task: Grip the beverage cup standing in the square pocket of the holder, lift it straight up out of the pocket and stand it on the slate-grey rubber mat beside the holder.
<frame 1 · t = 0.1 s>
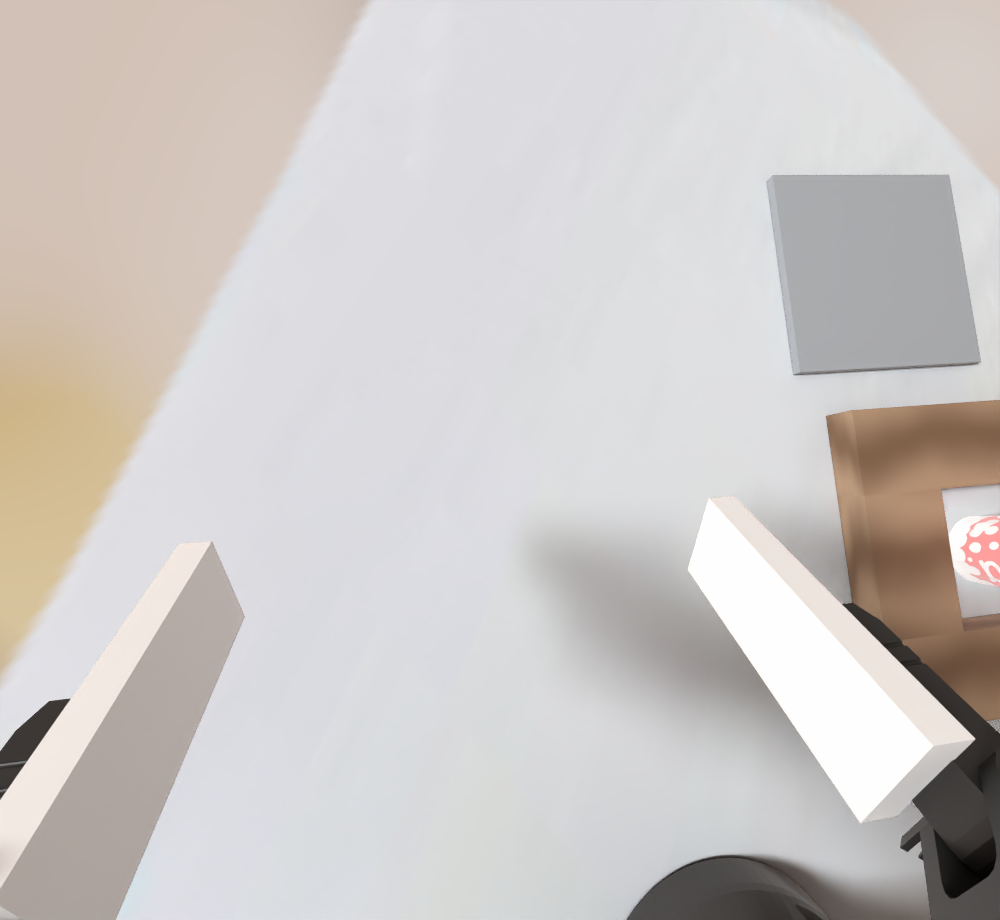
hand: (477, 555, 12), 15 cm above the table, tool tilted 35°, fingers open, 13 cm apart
pocket holder: (977, 549, 31), on the table
rubber mat: (869, 273, 32), on the table
beverage cup: (973, 548, 31), resting in pocket holder
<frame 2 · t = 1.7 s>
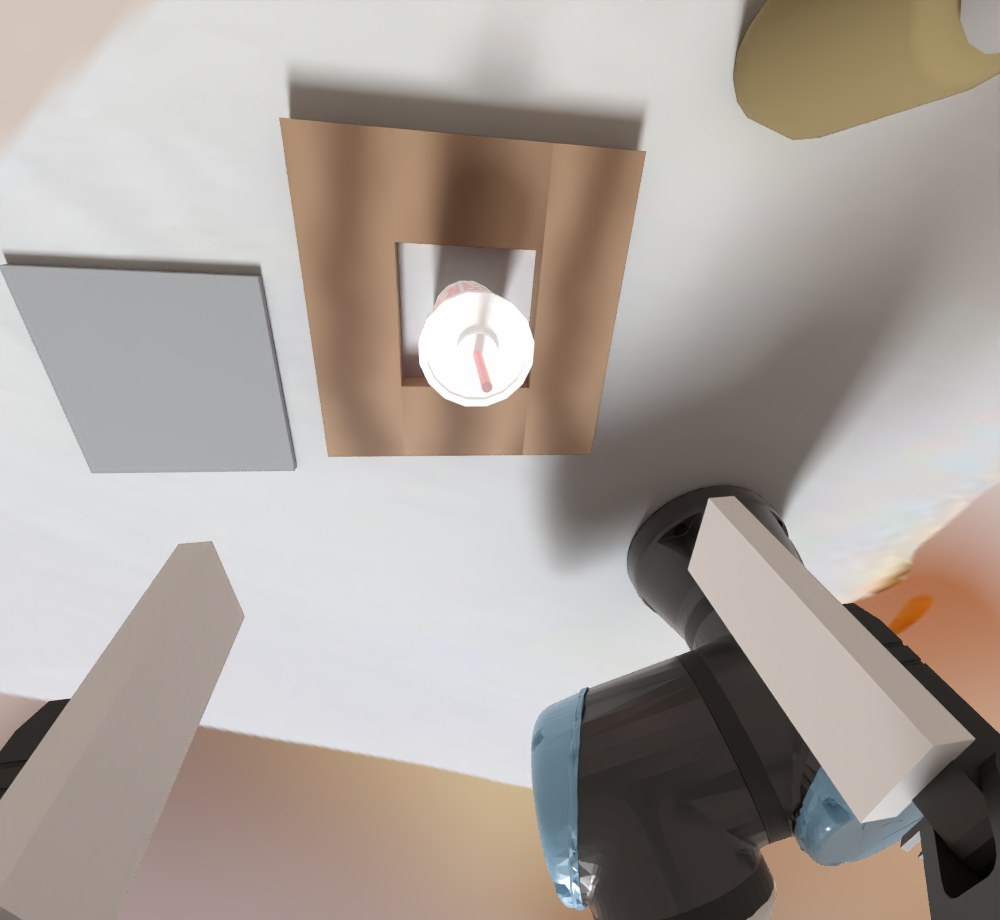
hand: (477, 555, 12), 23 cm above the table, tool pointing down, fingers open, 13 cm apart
squeeze bottle: (777, 64, 27), on the table
pocket holder: (466, 315, 31), on the table
rubber mat: (172, 380, 31), on the table
beverage cup: (466, 314, 31), resting in pocket holder
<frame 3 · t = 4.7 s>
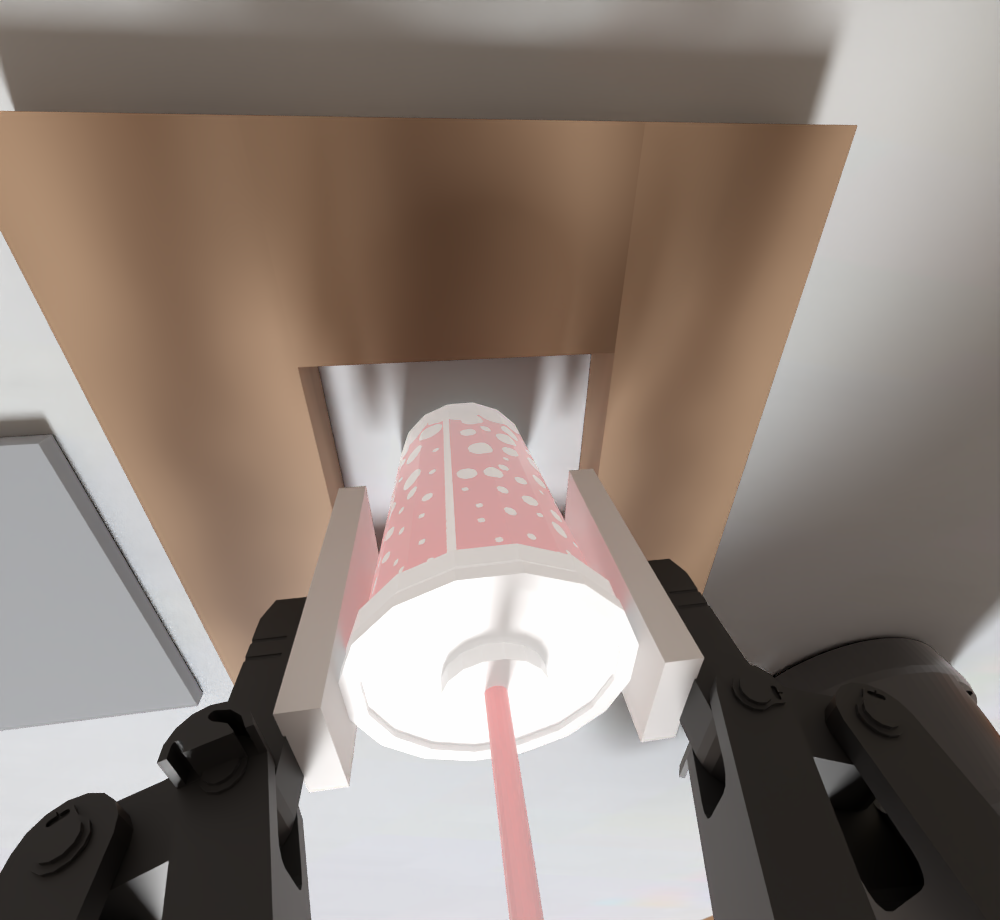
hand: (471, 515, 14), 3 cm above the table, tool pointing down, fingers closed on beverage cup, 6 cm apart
pocket holder: (464, 459, 17), on the table
beverage cup: (463, 456, 17), resting in pocket holder, touching gripper
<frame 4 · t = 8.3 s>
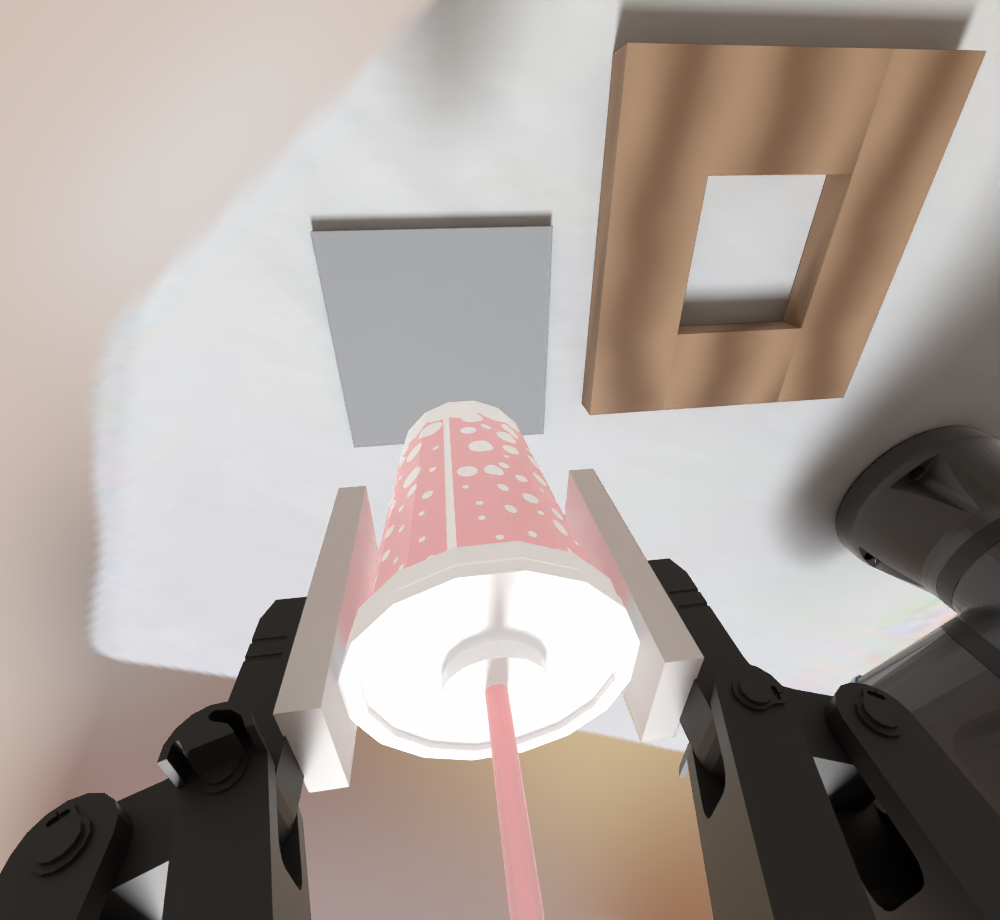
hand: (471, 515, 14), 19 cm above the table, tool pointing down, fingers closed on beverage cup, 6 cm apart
pocket holder: (740, 255, 30), on the table
rubber mat: (443, 344, 30), on the table
beverage cup: (464, 454, 17), point 16 cm above the table, touching gripper
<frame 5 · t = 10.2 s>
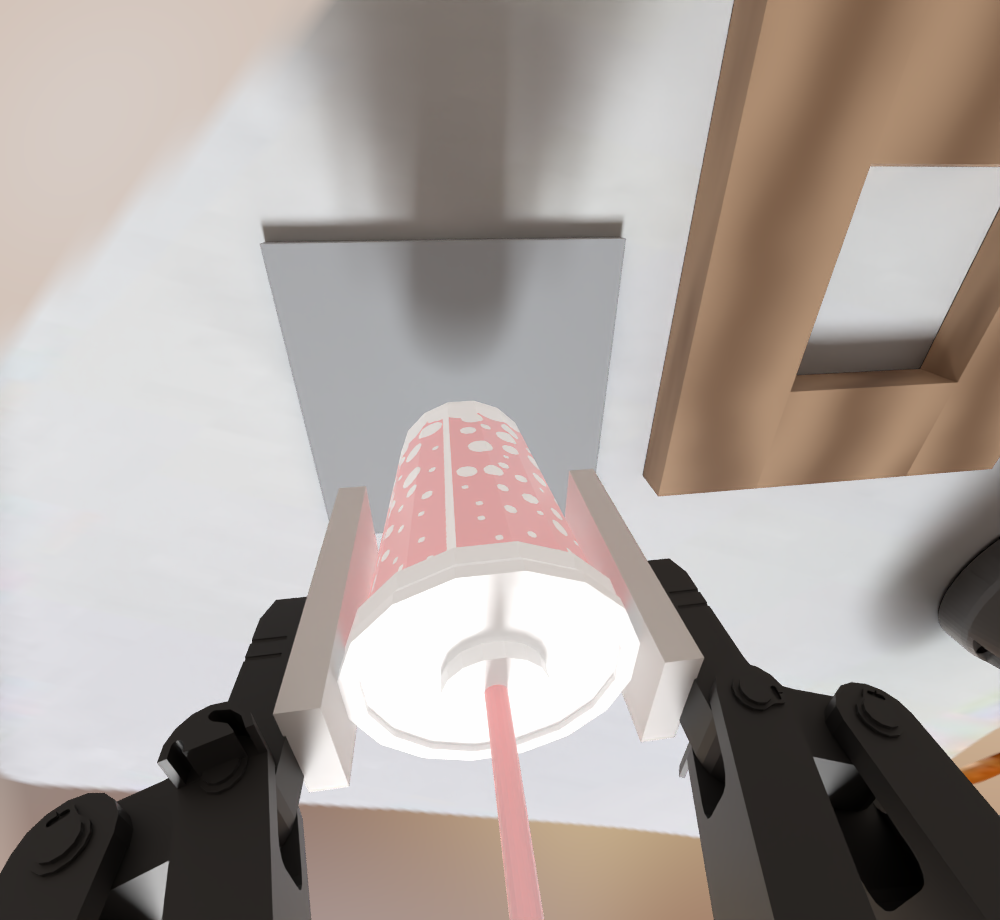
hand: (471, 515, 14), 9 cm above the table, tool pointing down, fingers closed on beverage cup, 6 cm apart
pocket holder: (881, 280, 21), on the table
rubber mat: (459, 402, 21), on the table
beverage cup: (463, 454, 17), point 5 cm above the table, touching gripper
when the fingers open (5 cm above the table, at t = 11.7 s): beverage cup drops 1 cm, resting on rubber mat.
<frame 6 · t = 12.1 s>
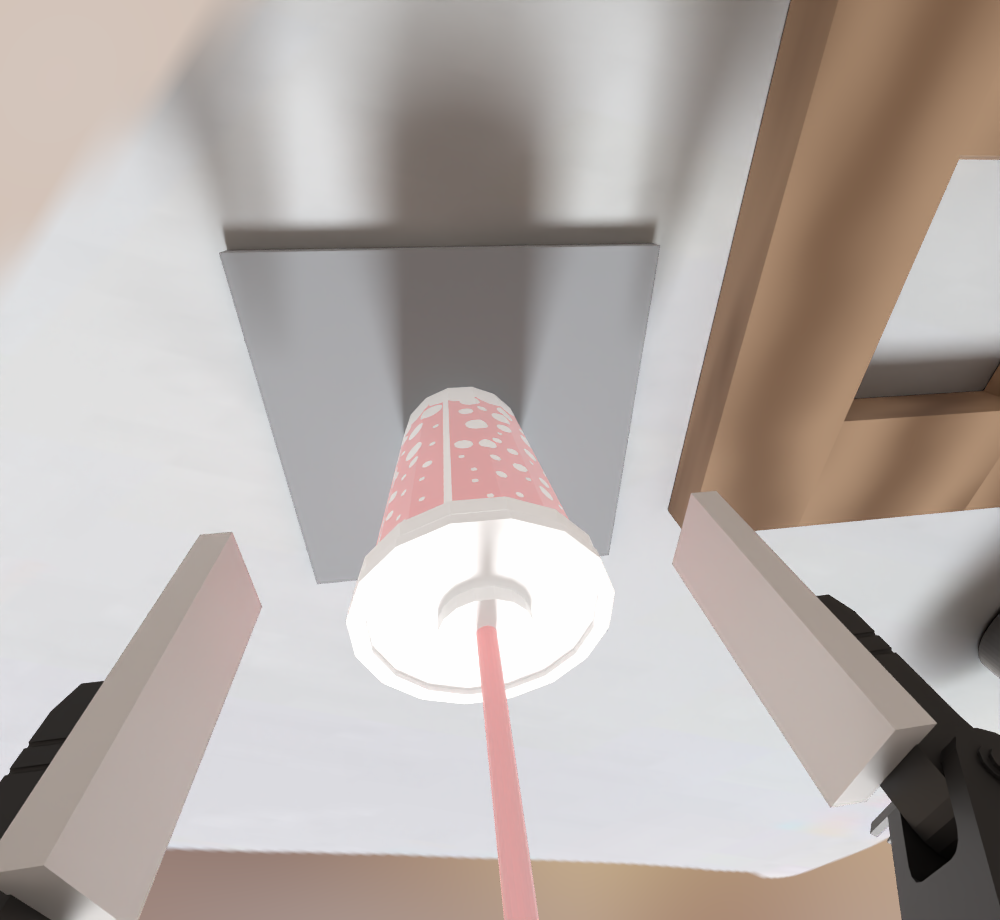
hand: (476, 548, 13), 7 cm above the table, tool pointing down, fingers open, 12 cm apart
pocket holder: (949, 293, 18), on the table
rubber mat: (460, 434, 19), on the table
beverage cup: (462, 438, 18), resting on rubber mat
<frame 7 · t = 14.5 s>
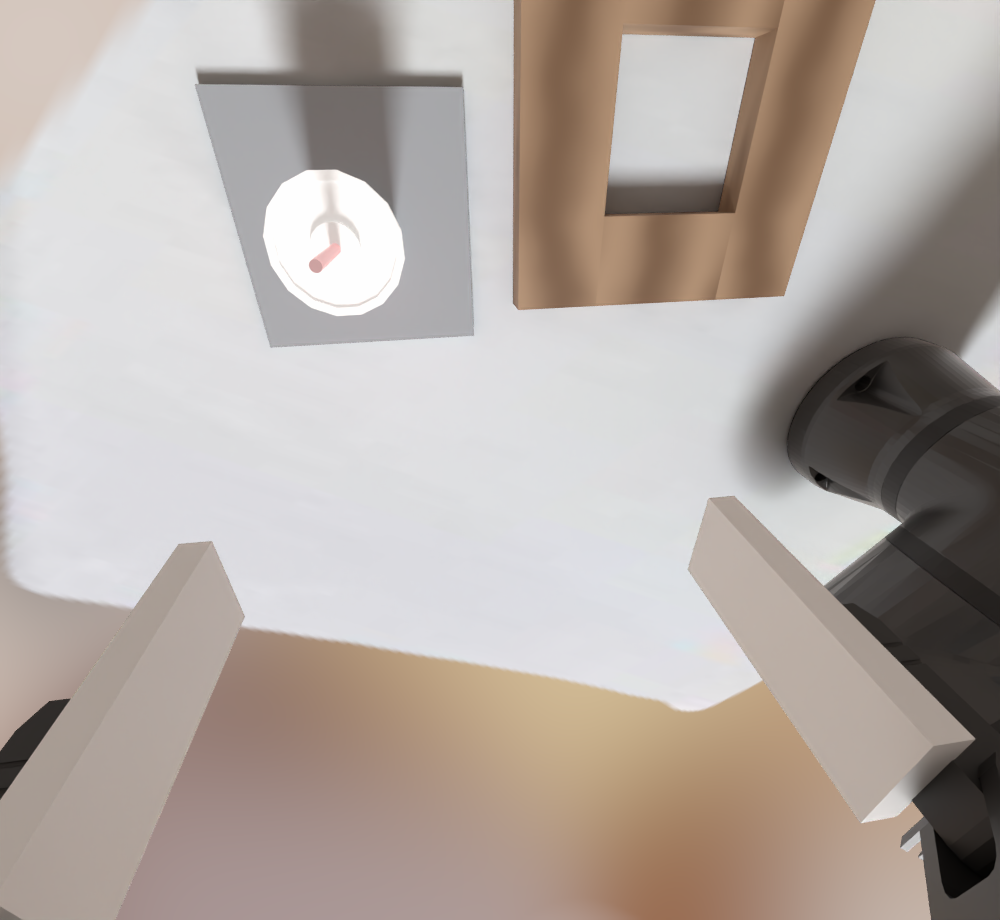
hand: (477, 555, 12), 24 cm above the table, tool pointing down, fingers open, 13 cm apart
pocket holder: (669, 131, 28), on the table
rubber mat: (358, 229, 29), on the table
beverage cup: (358, 229, 28), resting on rubber mat
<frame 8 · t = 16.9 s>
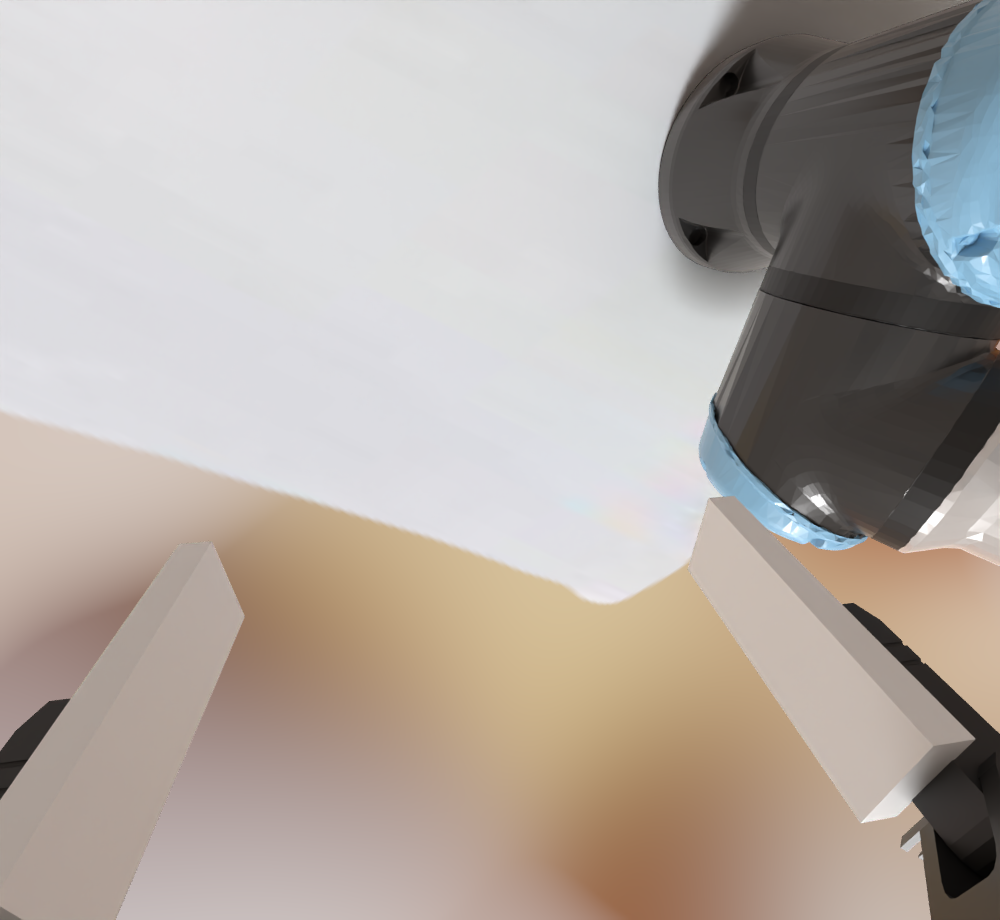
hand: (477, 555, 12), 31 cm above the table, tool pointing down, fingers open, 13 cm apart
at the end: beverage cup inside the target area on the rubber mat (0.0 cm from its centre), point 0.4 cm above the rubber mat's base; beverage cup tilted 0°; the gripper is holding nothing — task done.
